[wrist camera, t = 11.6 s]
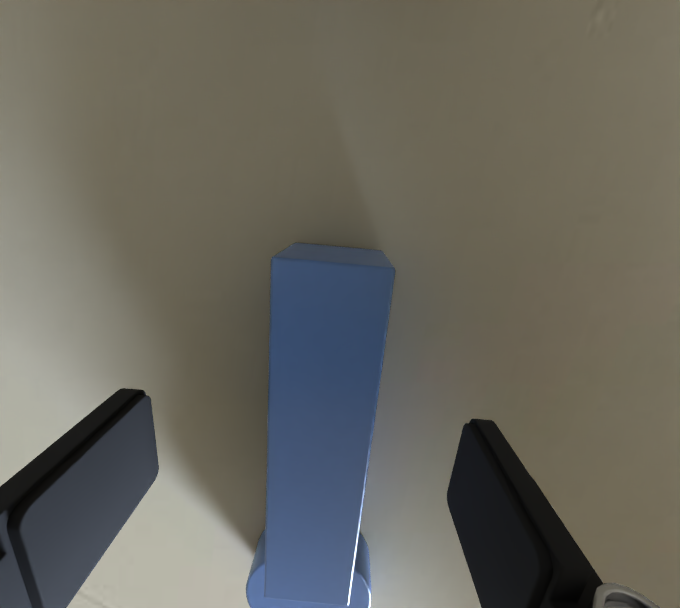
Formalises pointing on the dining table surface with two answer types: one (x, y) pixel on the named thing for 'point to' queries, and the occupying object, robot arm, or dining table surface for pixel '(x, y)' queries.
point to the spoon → (320, 424)
